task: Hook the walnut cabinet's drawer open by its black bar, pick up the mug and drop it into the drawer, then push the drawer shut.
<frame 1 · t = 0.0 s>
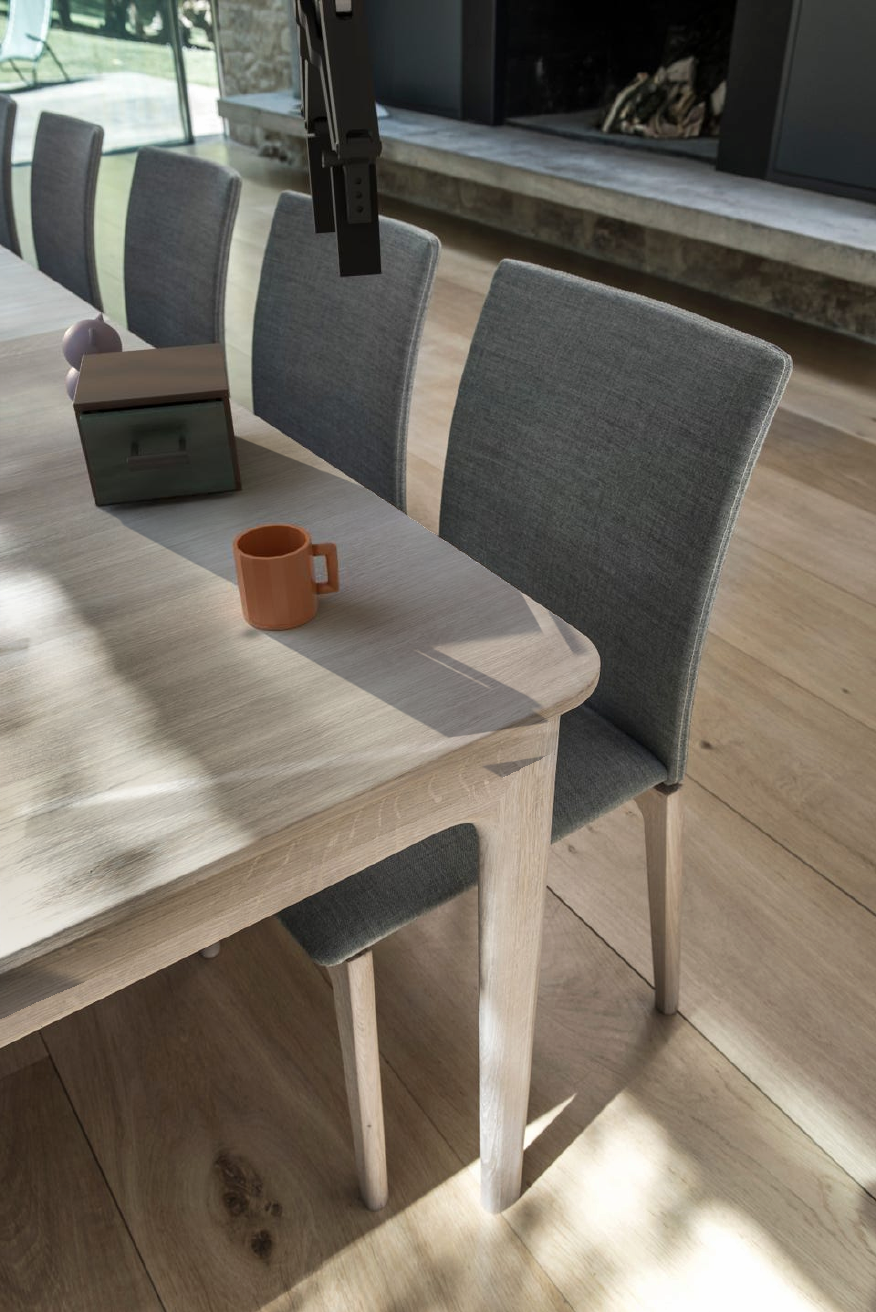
hand: (345, 251, 73), 28 cm above the table, tool pointing down, fingers open, 13 cm apart
cabinet: (169, 468, 113), on the table
mug: (280, 610, 87), on the table
drawer: (160, 437, 106), point 5 cm above the table, slide at 0.5 cm
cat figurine: (109, 423, 125), on the table
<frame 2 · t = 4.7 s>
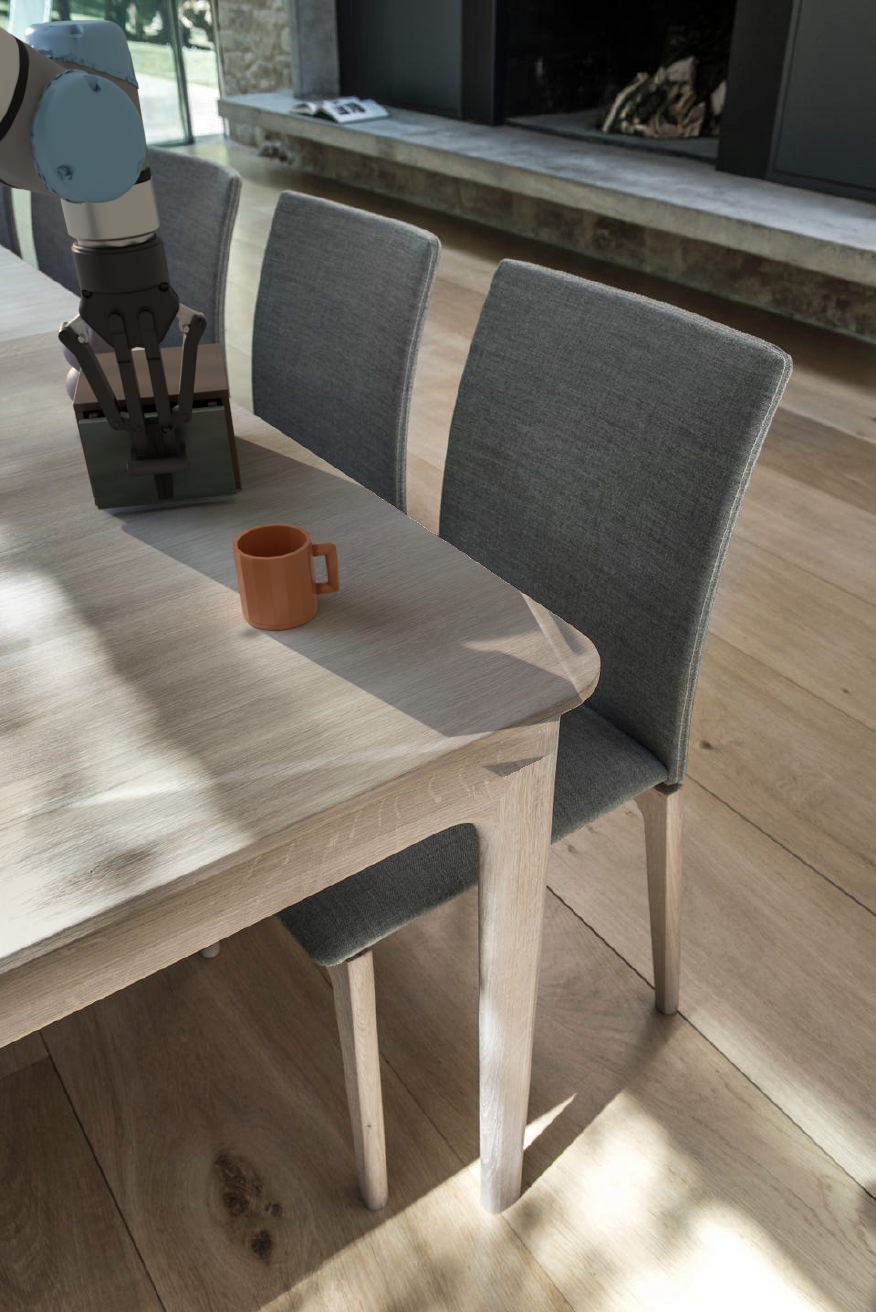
hand: (166, 493, 101), 3 cm above the table, tool pointing down, fingers closed
drawer: (160, 441, 105), point 5 cm above the table, slide at 1.8 cm, touching gripper
everything else where it was.
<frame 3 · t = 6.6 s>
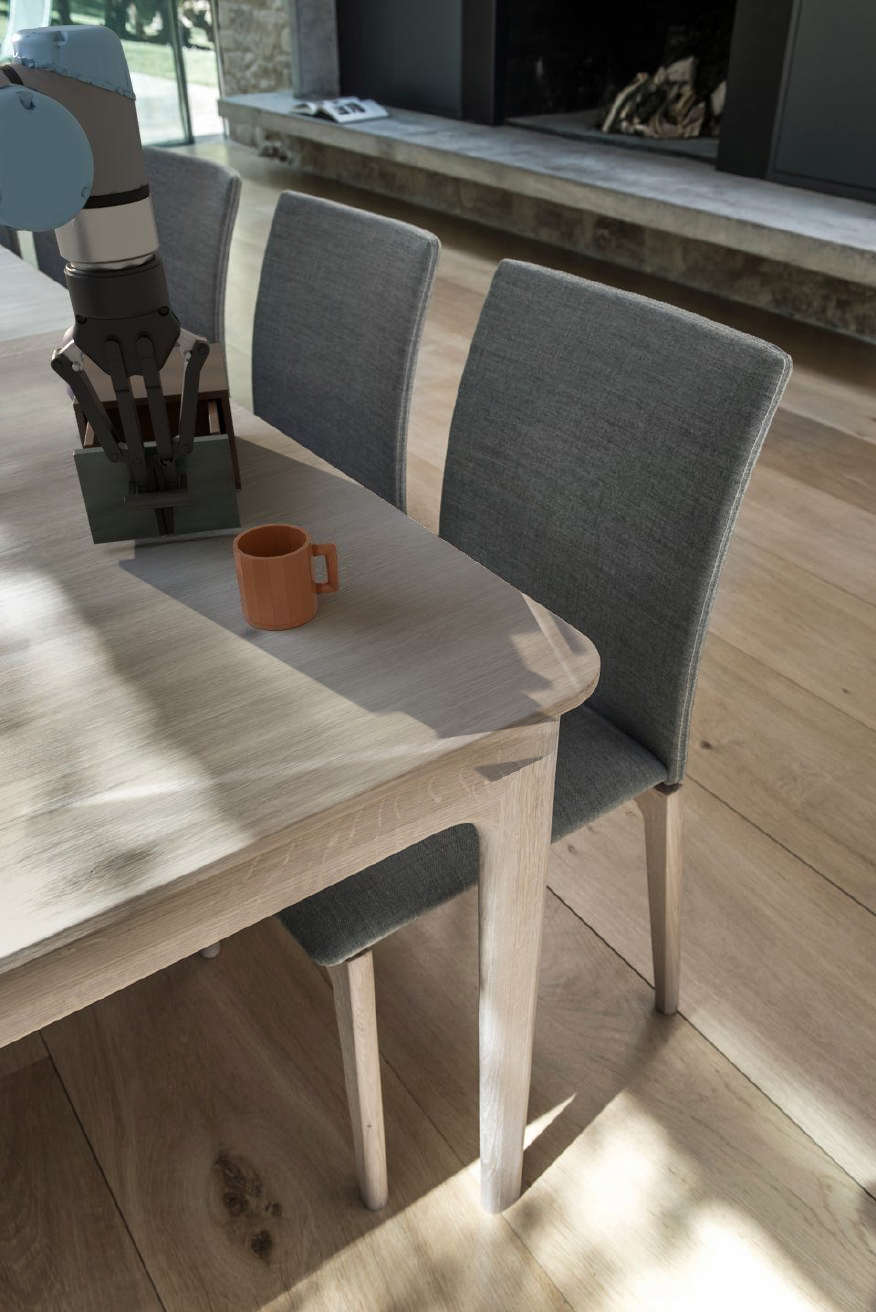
hand: (166, 527, 95), 3 cm above the table, tool pointing down, fingers closed
drawer: (160, 471, 99), point 5 cm above the table, slide at 9.3 cm, touching gripper
everything else where it was.
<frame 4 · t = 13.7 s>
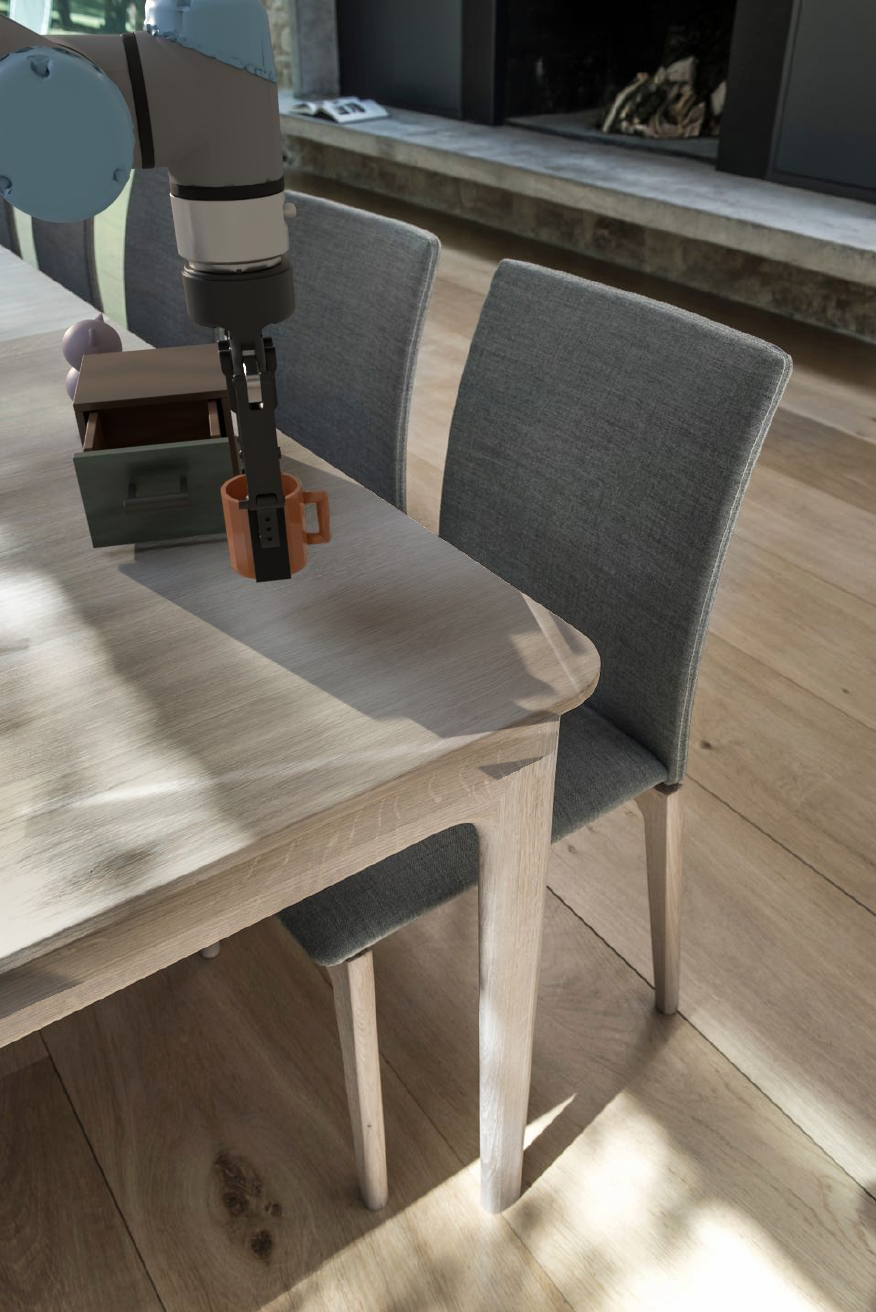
hand: (269, 557, 84), 5 cm above the table, tool pointing down, fingers closed on mug, 6 cm apart
mug: (270, 561, 85), point 5 cm above the table, touching gripper
drawer: (160, 474, 98), point 5 cm above the table, slide at 10.1 cm
everything else where it was.
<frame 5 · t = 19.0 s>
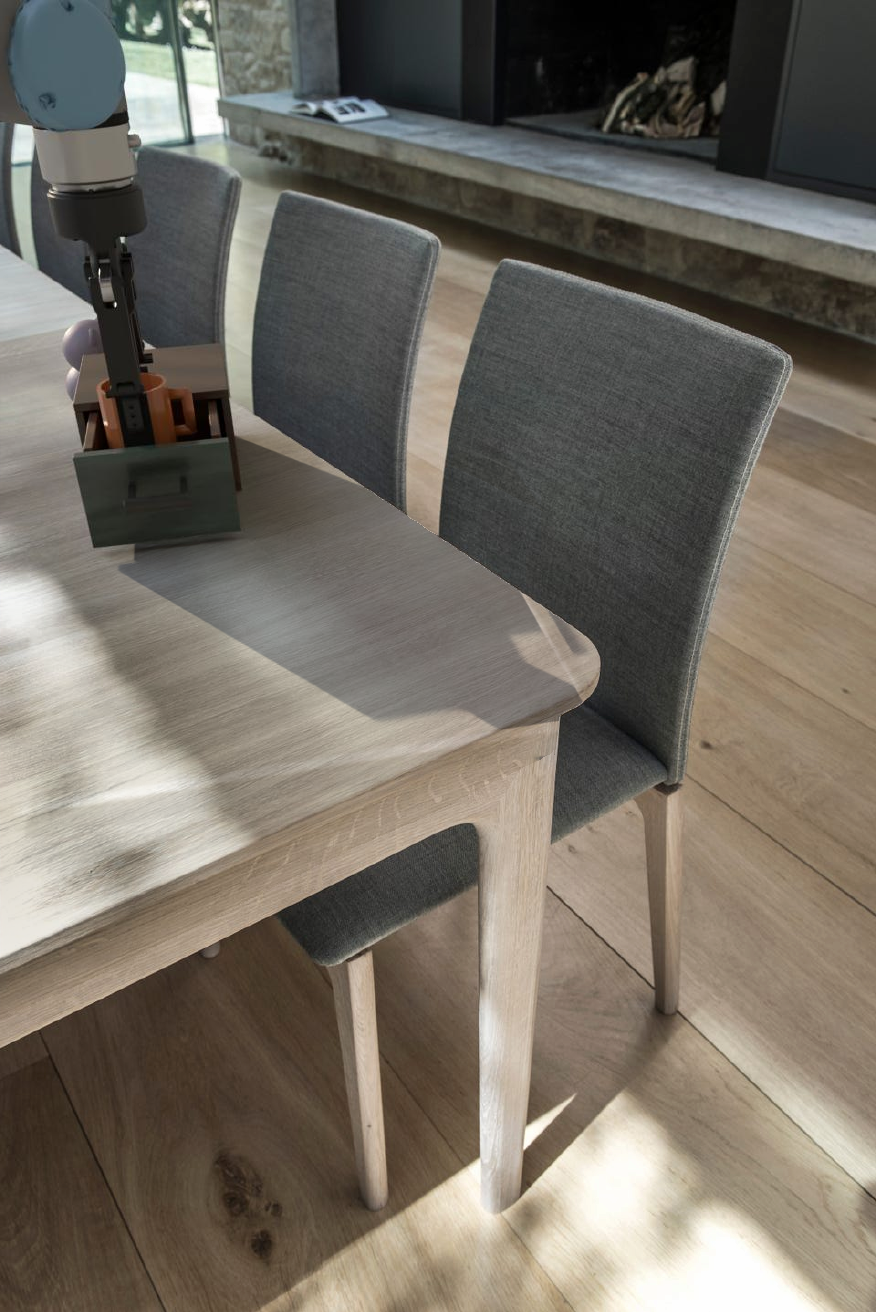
hand: (144, 447, 99), 7 cm above the table, tool pointing down, fingers closed on mug, 6 cm apart
mug: (145, 451, 99), point 7 cm above the table, touching gripper
everything else where it was.
when the fingers open (10 cm above the table, at t = 30.0 s): mug drops 7 cm, resting on drawer.
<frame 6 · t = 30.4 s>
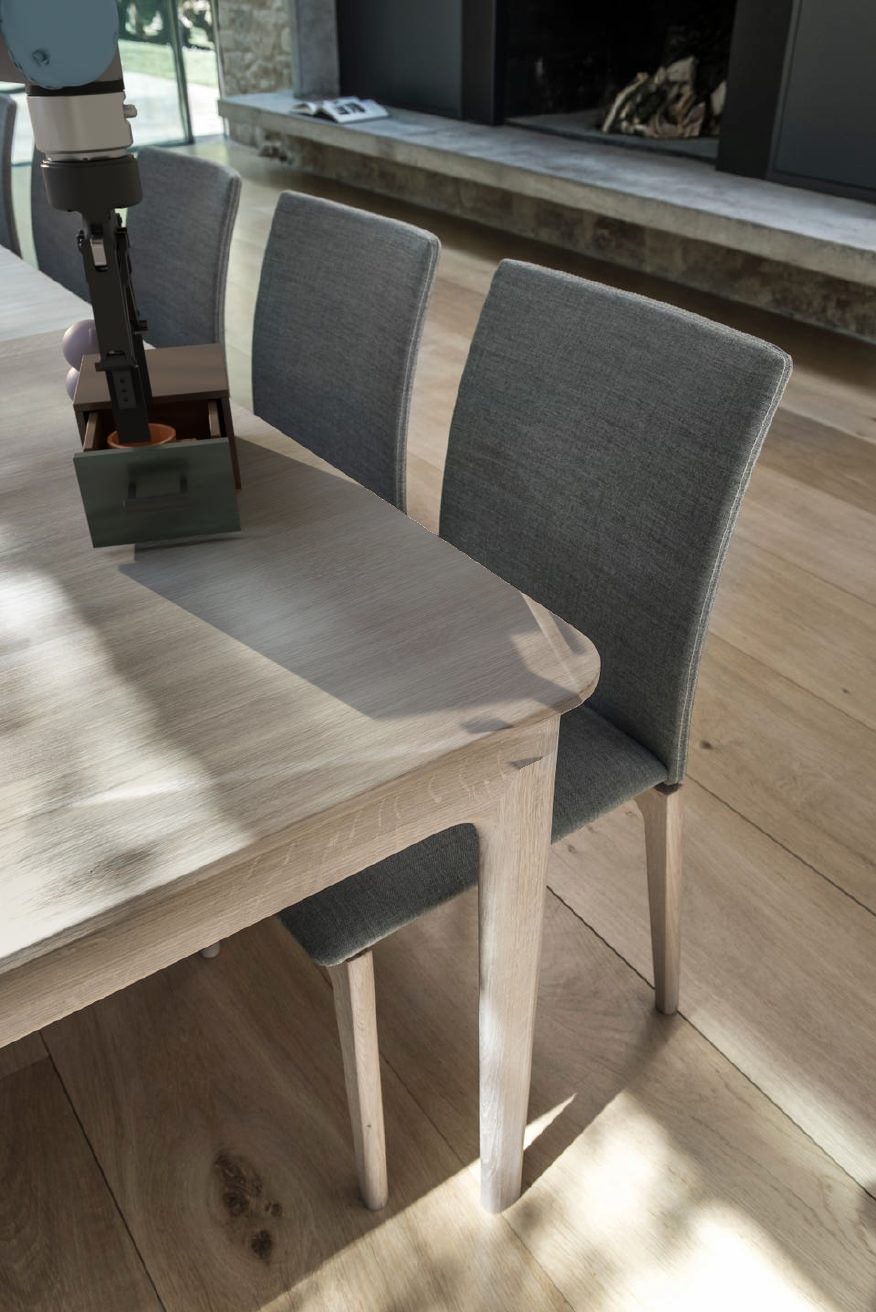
hand: (137, 422, 96), 10 cm above the table, tool pointing down, fingers open, 10 cm apart
mug: (153, 499, 101), point 2 cm above the table, touching drawer
drawer: (160, 474, 98), point 5 cm above the table, slide at 10.1 cm, touching mug
everything else where it was.
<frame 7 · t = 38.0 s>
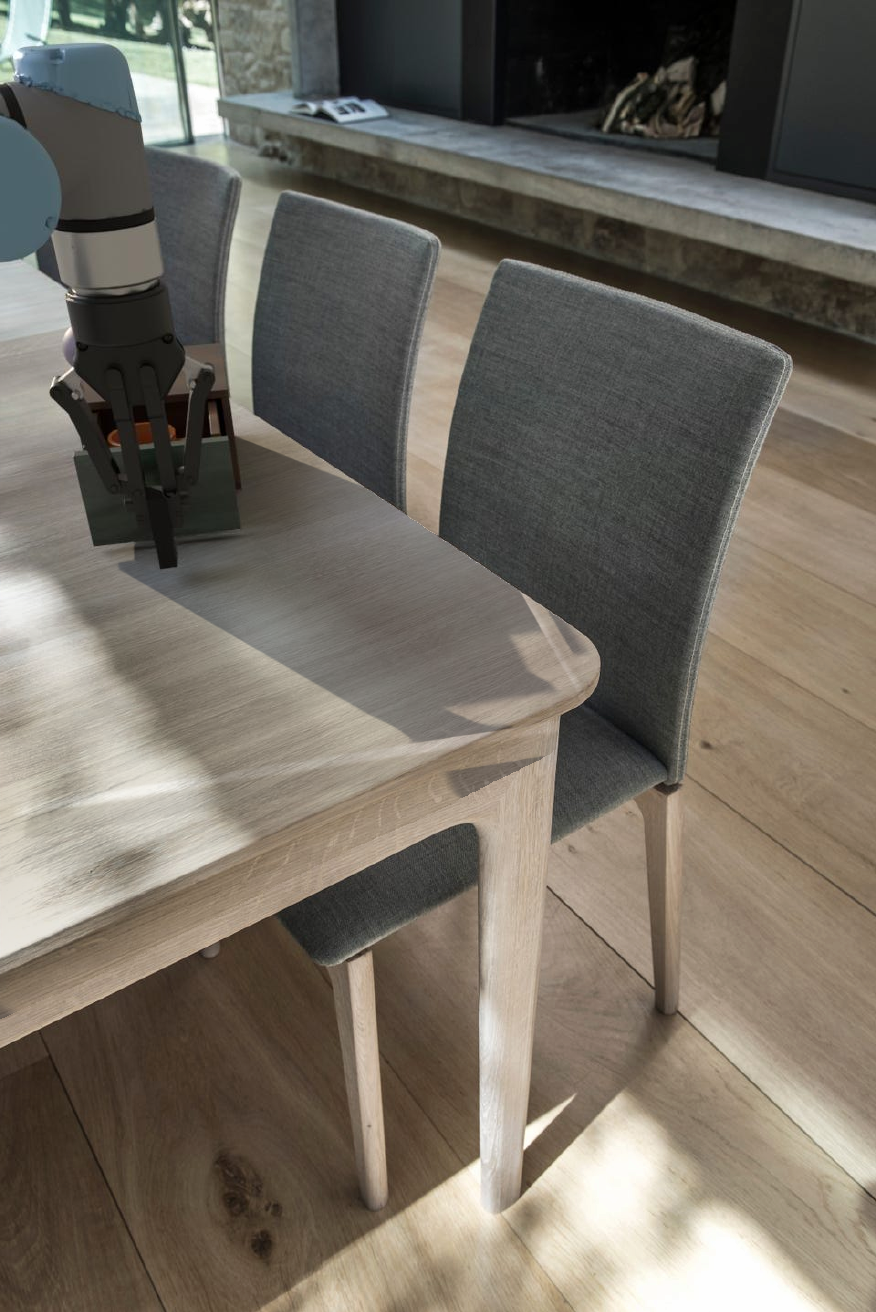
hand: (168, 560, 91), 2 cm above the table, tool pointing down, fingers closed
drawer: (160, 473, 98), point 5 cm above the table, slide at 9.8 cm, touching gripper, mug
everything else where it was.
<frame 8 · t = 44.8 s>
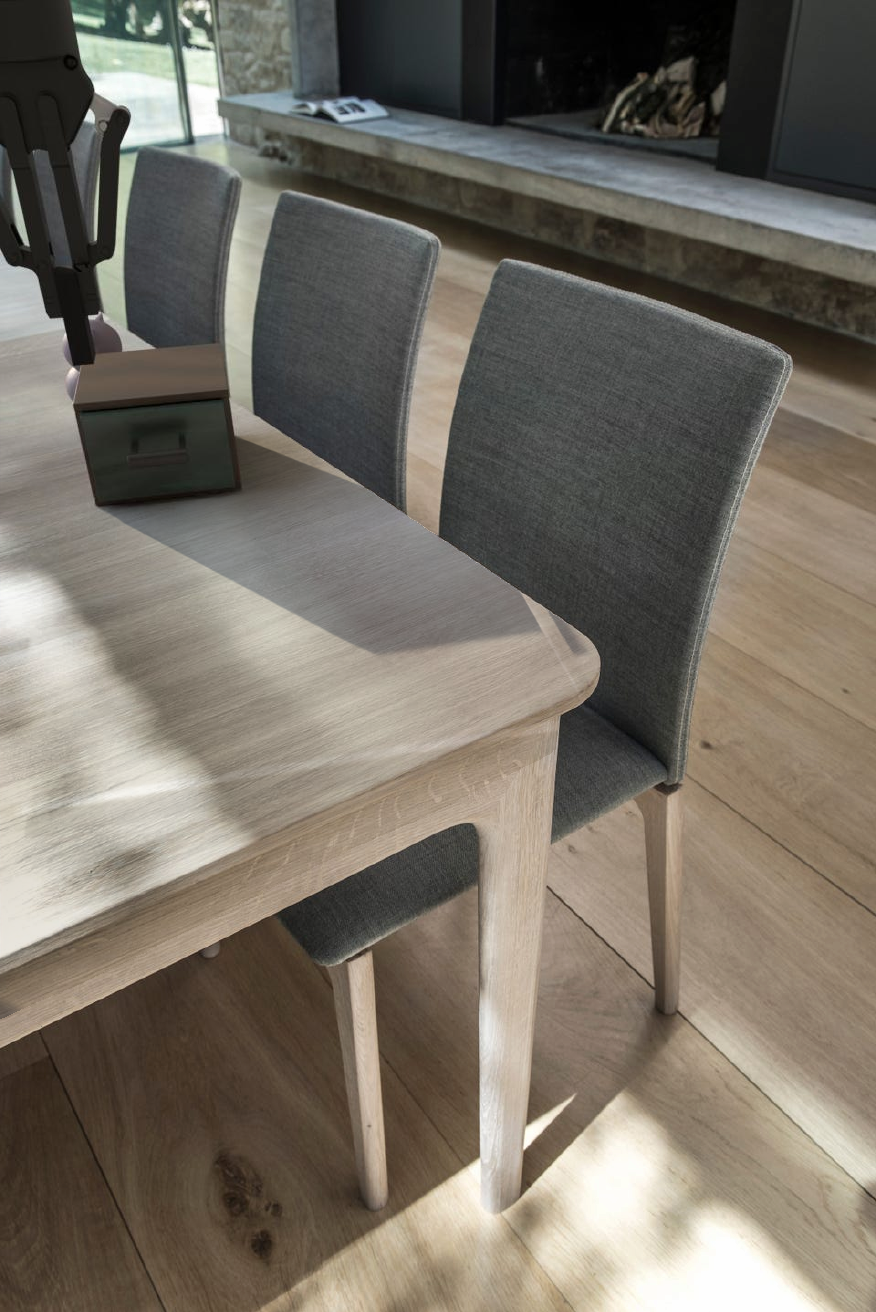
hand: (84, 359, 79), 20 cm above the table, tool pointing down, fingers closed
mug: (154, 459, 110), point 2 cm above the table, touching drawer
drawer: (160, 435, 106), point 5 cm above the table, slide at 0.0 cm, touching mug
everything else where it was.
at the end: drawer pulled out 10.1 cm at the most during the clip, back to where it started at the end; mug inside the target area in the cabinet (2.4 cm from its centre), point 2.0 cm above the cabinet's base; drawer slide at 0.0 cm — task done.
